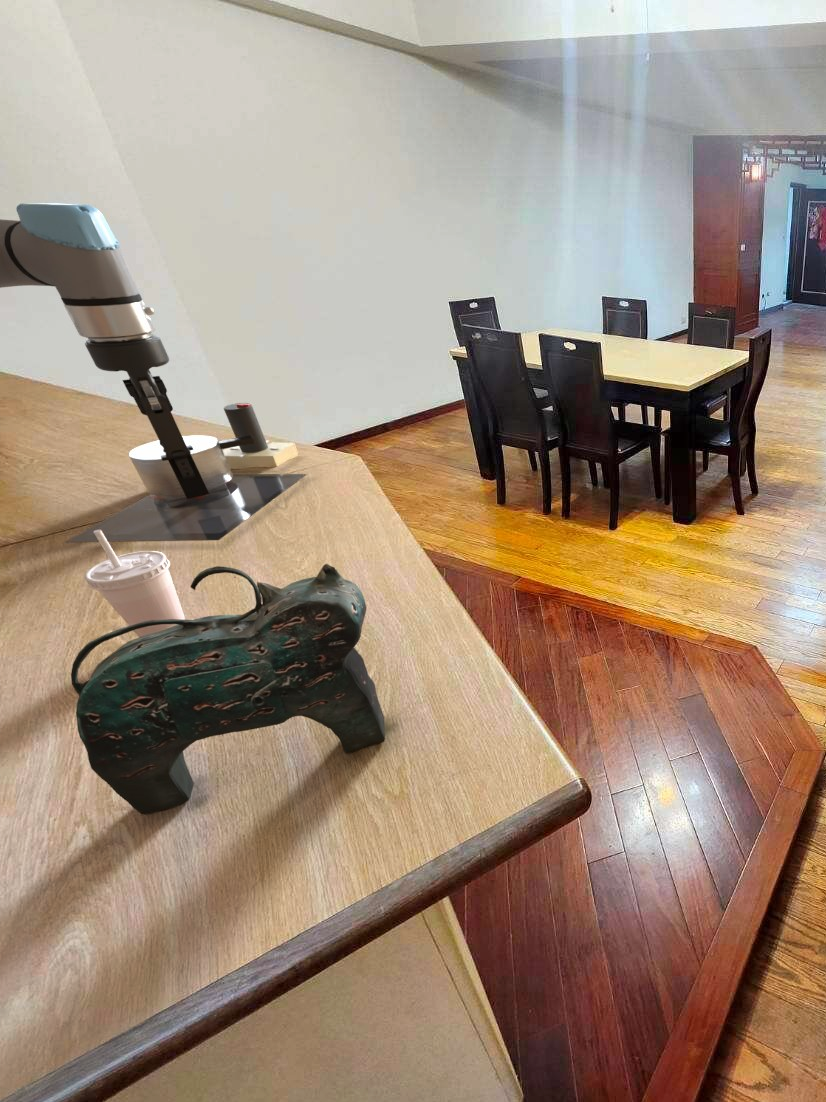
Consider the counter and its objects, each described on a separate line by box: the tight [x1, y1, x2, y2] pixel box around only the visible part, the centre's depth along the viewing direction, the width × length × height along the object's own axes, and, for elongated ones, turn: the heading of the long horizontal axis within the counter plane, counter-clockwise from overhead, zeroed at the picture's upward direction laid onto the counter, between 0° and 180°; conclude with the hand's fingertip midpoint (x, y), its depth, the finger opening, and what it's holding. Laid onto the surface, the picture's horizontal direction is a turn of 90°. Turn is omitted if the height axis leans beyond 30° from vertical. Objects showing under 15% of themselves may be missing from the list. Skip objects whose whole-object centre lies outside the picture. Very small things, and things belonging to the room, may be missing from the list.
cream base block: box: [222, 440, 299, 470], centre depth 109 cm, size 10×8×3 cm
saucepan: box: [128, 435, 254, 502], centre depth 98 cm, size 16×11×7 cm
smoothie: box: [84, 530, 186, 638], centre depth 63 cm, size 6×6×14 cm
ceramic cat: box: [70, 563, 386, 815], centre depth 47 cm, size 20×6×20 cm, turn 118°
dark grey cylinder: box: [223, 402, 268, 453], centre depth 106 cm, size 4×4×8 cm
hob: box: [65, 473, 308, 543], centre depth 93 cm, size 20×24×1 cm
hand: (197, 494), depth 91 cm, fingers closed
